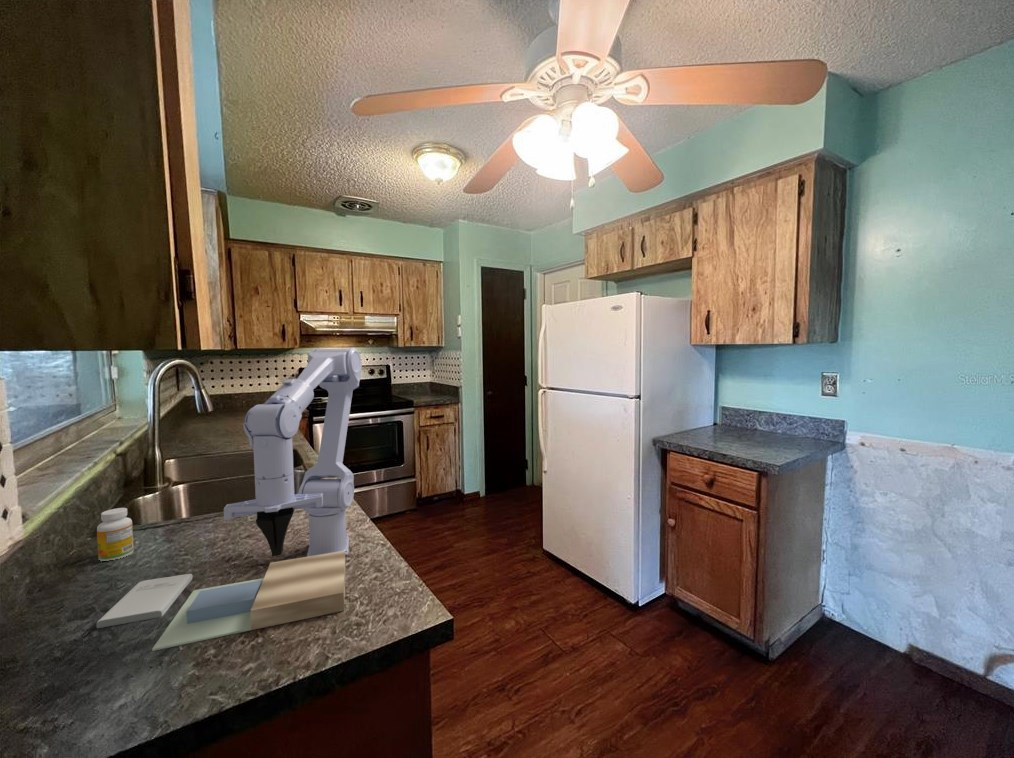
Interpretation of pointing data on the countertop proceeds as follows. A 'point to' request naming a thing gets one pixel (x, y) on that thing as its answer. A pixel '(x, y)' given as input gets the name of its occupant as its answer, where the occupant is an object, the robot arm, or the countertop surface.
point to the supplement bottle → (114, 535)
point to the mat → (202, 625)
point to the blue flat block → (223, 602)
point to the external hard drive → (146, 600)
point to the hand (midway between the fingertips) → (277, 553)
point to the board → (300, 590)
